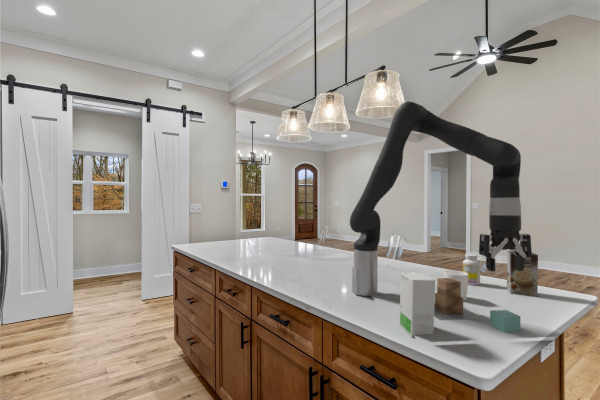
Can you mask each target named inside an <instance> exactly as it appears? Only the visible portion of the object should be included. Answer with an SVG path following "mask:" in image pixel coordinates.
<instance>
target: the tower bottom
mask: <svg viewBox="0 0 600 400" xmlns="http://www.w3.org/2000/svg"><path fill="white" fill-rule="evenodd" d="M434 304H435V308H436V309H437V310H439V311H440V312H442V313H444V314H445V315H450V314H463V307H464V300H463V298H462V297H461V298H445V297H443V296H441V295H439V294H437V292H435V302H434Z"/></svg>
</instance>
